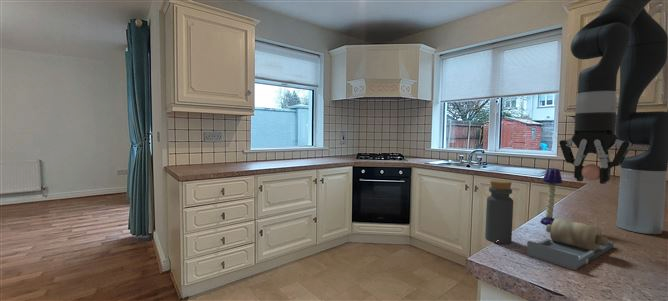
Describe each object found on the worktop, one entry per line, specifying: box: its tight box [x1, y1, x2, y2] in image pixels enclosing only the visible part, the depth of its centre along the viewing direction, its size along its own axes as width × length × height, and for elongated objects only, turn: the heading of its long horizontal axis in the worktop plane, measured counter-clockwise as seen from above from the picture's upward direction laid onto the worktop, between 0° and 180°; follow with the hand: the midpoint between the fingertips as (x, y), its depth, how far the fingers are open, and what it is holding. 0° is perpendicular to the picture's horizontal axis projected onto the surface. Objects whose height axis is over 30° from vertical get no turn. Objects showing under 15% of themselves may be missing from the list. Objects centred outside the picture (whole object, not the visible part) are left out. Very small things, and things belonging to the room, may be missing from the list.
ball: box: [581, 163, 601, 182], centre depth 75 cm, size 4×4×4 cm
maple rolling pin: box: [545, 217, 609, 252], centre depth 71 cm, size 11×6×6 cm, turn 34°
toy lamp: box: [540, 167, 563, 226], centre depth 91 cm, size 5×5×17 cm
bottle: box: [484, 179, 514, 245], centre depth 77 cm, size 6×6×15 cm
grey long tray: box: [526, 238, 615, 271], centre depth 71 cm, size 23×9×3 cm, turn 124°
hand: (591, 181), depth 75 cm, fingers closed on ball, 4 cm apart
